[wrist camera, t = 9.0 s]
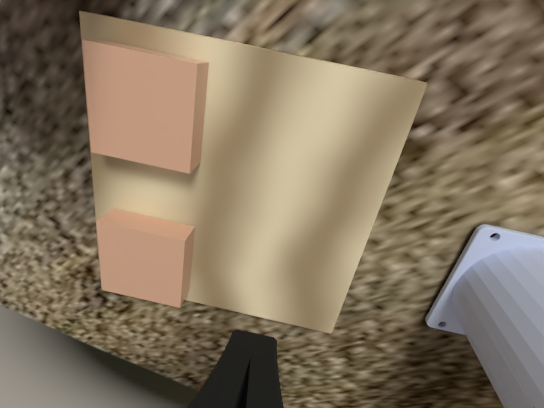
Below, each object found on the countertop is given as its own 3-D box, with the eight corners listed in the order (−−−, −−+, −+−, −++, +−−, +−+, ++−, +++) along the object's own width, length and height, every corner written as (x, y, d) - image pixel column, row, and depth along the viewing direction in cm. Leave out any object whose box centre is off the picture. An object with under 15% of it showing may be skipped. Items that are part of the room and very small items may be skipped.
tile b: (185, 241, 17) (96, 221, 17) (180, 307, 20) (101, 289, 20) (195, 226, 19) (113, 207, 19) (189, 289, 21) (116, 272, 21)
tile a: (197, 63, 13) (82, 39, 13) (189, 173, 16) (91, 152, 16) (209, 62, 15) (105, 40, 15) (200, 162, 17) (110, 143, 17)
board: (417, 80, 15) (427, 83, 14) (330, 315, 23) (331, 333, 21) (100, 13, 16) (78, 10, 14) (113, 266, 23) (100, 280, 22)
